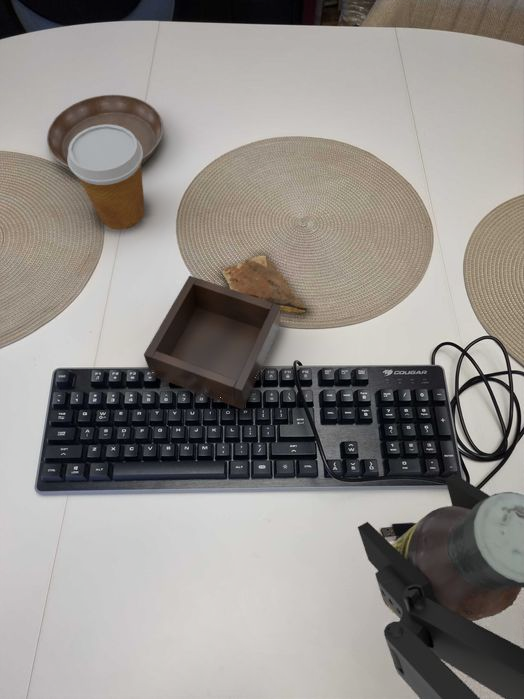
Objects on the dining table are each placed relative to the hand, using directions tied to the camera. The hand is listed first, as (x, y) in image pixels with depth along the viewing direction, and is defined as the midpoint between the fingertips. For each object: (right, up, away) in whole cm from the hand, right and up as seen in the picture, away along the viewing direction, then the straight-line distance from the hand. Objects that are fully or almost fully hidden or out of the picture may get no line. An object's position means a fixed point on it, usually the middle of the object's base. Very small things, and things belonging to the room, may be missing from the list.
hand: (412, 516), depth 36 cm
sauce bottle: (+2, -7, +6) cm, 9 cm away
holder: (-16, +11, +32) cm, 37 cm away
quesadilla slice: (-9, +20, +37) cm, 43 cm away
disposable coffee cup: (-30, +31, +43) cm, 61 cm away
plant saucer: (-34, +43, +50) cm, 74 cm away
